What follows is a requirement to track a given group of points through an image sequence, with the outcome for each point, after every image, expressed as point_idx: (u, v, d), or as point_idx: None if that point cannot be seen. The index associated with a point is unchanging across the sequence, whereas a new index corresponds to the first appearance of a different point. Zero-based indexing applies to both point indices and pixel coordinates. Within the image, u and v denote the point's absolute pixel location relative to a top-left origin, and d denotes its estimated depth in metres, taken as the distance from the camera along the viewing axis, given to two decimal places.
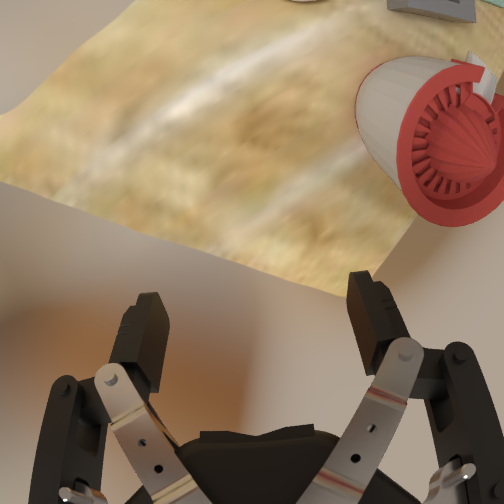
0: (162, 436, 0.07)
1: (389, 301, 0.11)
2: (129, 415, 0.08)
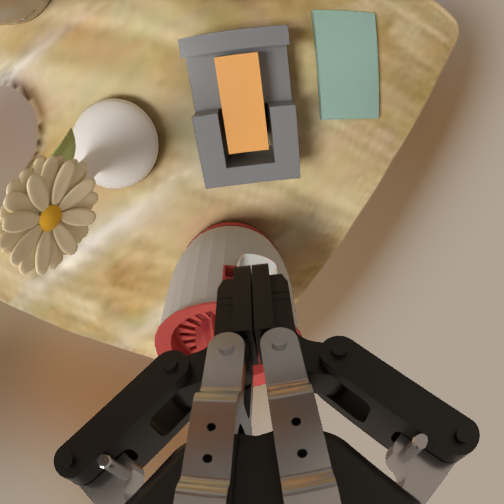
0: (234, 432, 0.07)
1: (284, 293, 0.12)
2: (218, 395, 0.08)
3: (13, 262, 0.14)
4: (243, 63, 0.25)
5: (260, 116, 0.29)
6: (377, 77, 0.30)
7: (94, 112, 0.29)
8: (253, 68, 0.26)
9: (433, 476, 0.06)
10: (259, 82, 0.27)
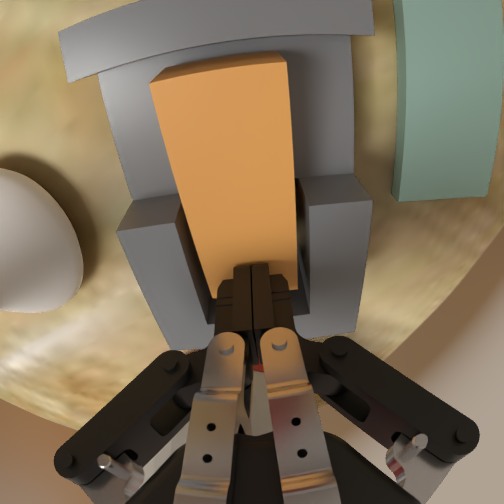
0: (234, 432, 0.07)
1: (284, 293, 0.12)
2: (218, 395, 0.08)
3: None
4: (241, 97, 0.09)
5: (284, 233, 0.12)
6: (498, 122, 0.13)
7: None
8: (271, 111, 0.09)
9: (433, 476, 0.06)
10: (287, 153, 0.10)
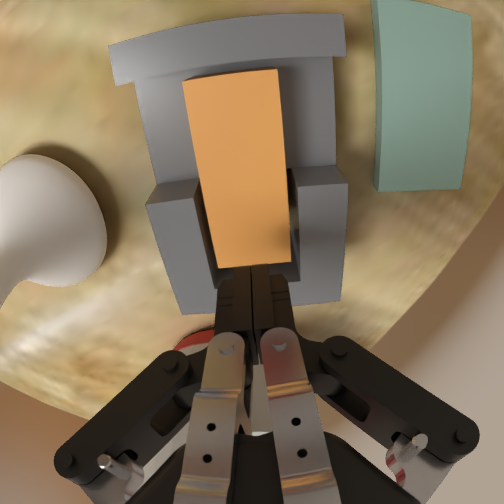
0: (233, 432, 0.07)
1: (284, 293, 0.12)
2: (218, 395, 0.08)
3: None
4: (245, 94, 0.12)
5: (278, 205, 0.15)
6: (468, 124, 0.16)
7: (4, 181, 0.16)
8: (267, 105, 0.12)
9: (433, 476, 0.06)
10: (279, 136, 0.13)
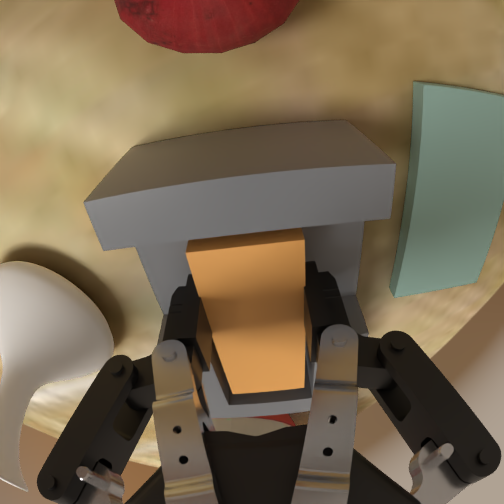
0: (199, 429, 0.07)
1: (333, 290, 0.12)
2: (174, 398, 0.08)
3: None
4: (264, 267, 0.11)
5: (294, 354, 0.14)
6: (496, 222, 0.15)
7: None
8: (290, 276, 0.11)
9: (446, 490, 0.05)
10: (301, 304, 0.12)
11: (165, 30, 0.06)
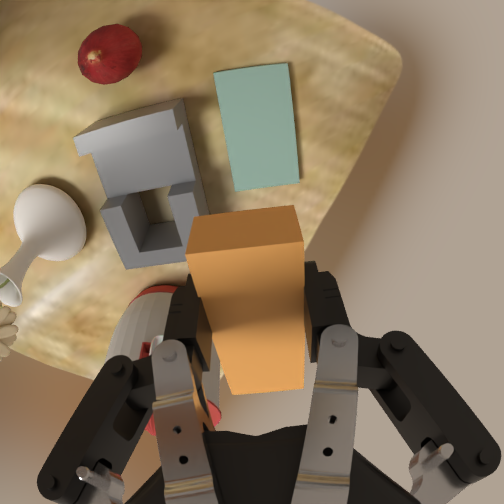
0: (200, 429, 0.07)
1: (333, 290, 0.12)
2: (175, 398, 0.08)
3: None
4: (264, 268, 0.11)
5: (294, 355, 0.14)
6: (294, 139, 0.31)
7: (25, 200, 0.30)
8: (289, 278, 0.11)
9: (445, 490, 0.05)
10: (300, 305, 0.12)
11: (95, 79, 0.22)
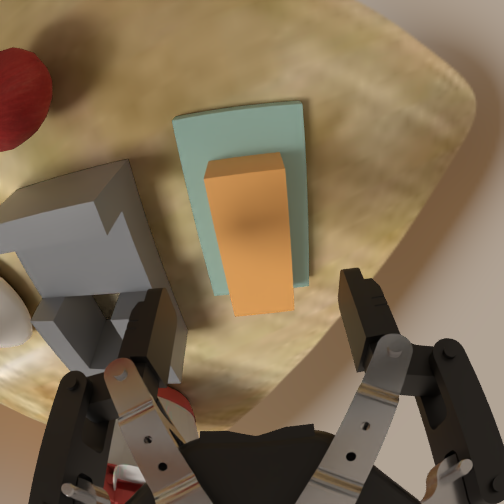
0: (168, 434, 0.07)
1: (379, 298, 0.11)
2: (137, 411, 0.08)
3: None
4: (258, 189, 0.16)
5: (284, 271, 0.19)
6: (306, 228, 0.20)
7: None
8: (276, 197, 0.16)
9: None
10: (286, 221, 0.17)
11: None
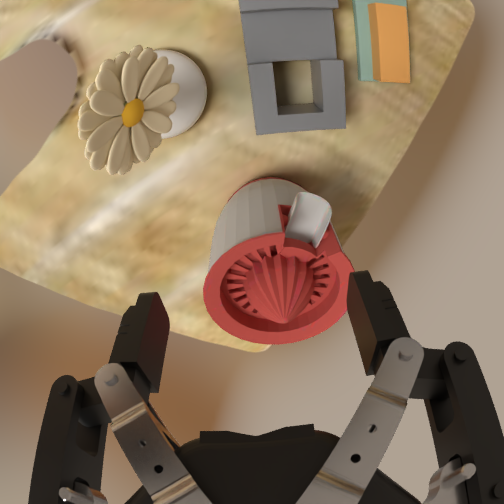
0: (162, 436, 0.07)
1: (389, 301, 0.11)
2: (129, 415, 0.08)
3: (89, 148, 0.14)
4: (396, 12, 0.25)
5: (406, 55, 0.28)
6: None
7: None
8: (403, 17, 0.25)
9: None
10: (406, 29, 0.26)
11: None
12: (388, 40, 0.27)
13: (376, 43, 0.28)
